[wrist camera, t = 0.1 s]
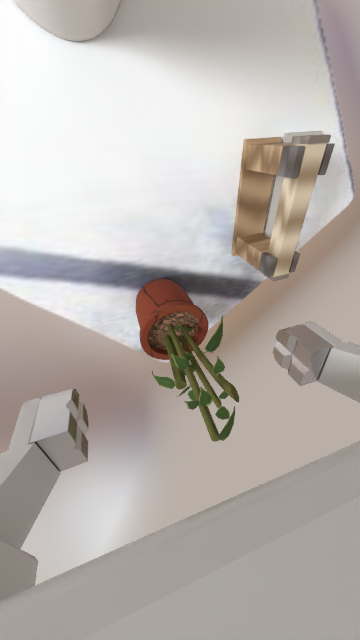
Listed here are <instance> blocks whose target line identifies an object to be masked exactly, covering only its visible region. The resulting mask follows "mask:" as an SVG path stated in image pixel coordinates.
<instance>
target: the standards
mask: <svg viewBox="0 0 360 640" xmlns="http://www.w3.org/2000/svg"><path fill="white" fill-rule="evenodd" d="M334 145H335V144H327V145H326V148H325V151H324V155H323V158H322V162H321V165H320V168H319V172H318V175H324V174H325V173H326V170H327V167H328V164H329V160H330V157H331V154H332V151H333V148H334ZM304 147H305V146H291V143H285V142H281V137H273V138H258V139H244V145H243V154H242V163H241V172H240V181H239V191H238V200H237V209H236V218H235V227H234V236H233V245H232V254H231V255H233V256H235V255H239V256H240V257H242V258H243V259H244V260H246V261H247V262H248V263H250V264H251V265H252V266H253V267H255V268H256V269H257V270H259V271H260V272H261V273H263V274H264V275H265V276H267V277H272V276H273V272H274V268H275V264H276V260H277V258H275V257H273V256H272V255H270V254H269V253H268V249H269V245H270V240H271V238H270V237H268V236H266V235H264V234H263V231H264V225H265V220H266V215H267V210H268V204H269V199H270V194H271V189H272V184H273V178H274V175H277V176H282V177H287V178H297V175H298V171H299V167H300V163H301V159H302V155H303V151H304ZM299 256H300V254H299V253H297V252H296V251H295V252H294V256H293V259H292V263H291V266H290V269H289V272H294V271H295V268H296V265H297V262H298V259H299Z"/></svg>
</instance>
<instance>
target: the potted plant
mask: <svg viewBox="0 0 360 640" xmlns="http://www.w3.org/2000/svg"><path fill="white" fill-rule="evenodd" d="M136 314H137V318H138V322H139V325H140V342H141V346H142V348H143V350H144V351H145V352H146V353H147V354H148V355H149V356H151V357H153V358H157V359H162V360H169V359H170V363H171V366H172V370H173V374H174V379H175V381H173V380H172V379H171V378H170V377H158V376H155V375H153V376H154V378H155V379H156V381H157V382H158V384H159V385H160V386H163V387H167V388H171V389H172V388H174V387H175V386H176V388H178V389H183V388H185V387H186V385H187V384H186V380H185V375H187V377H188V380H189V383H190V385H191V388H192V390H191V389H190V391H189V393H188V395H189V398H190V399H191V400H193V401H185V403H186V404H187V406H188V409H195V408H196V407H197V406H199V408H200V411H201V413H202V416H203V418H204V421H205V424H206V426H207V429H208V432H209V434H210V437H211V439H212V441H219V440H222V441H224V440H225V439H226V438H227V437H228V436H229V434H230V432H231V429H232V426H233V424H234V416H235V407H234V410H233V413H232V415H231V416H230V413H229V411H228V410H227V409H226V408H225V407H224V406H222V407H221V401H220V399H219V398H221V399H225V398H226V397H227V396H228V395H229V396H231V397H232V398H233V399H234V400H235V401H236V402H239V396H238V393H237V390H236V388H235V387H234V386H233V385H232V384H231V383H229V382H228V381H227V380H225V379H224V378H223V376H221V374H220V372H222V371H224V368H225V366H224V363H223V362H222V361H221V360H220V359H219V357H217V361H216V362H215V364H214V366H213V365H212V364H211V363H210V362H209V360H208V359H207V358H206V356H205V355H204V353H206V352H212V353H213V352H214V351H215V350H216V348H217V347H218V346H219V345H220V342H221V339H222V336H223V315H222V319H221V323H220V325H219V327H218V328H217V330H216V332H215V333H214V335H213V336H212V338H211V340H210V341H209V343H208V344H207V346H206V348H205V349H206V352H204V353H202V351H201V350H200V349H199V347H198V346H199V345H200V344H201V343H202V341H203V340H204V338H205V336H206V334H207V331H208V320H207V317H206V316H205V314H204V313H203V311H202V310H201V309H200V308H199V307H197V306H196V305H194V304H193V302H192V301H191V299H190V298H189V296H188V295H187V293H186V292H185V290H183V289H182V288H181V287H180V286H179V285H178V284H176V283H175V282H173V281H171V280H168V279H157V280H153V281H150V282H149V283H147V284H146V285H144V286H143V287H142V288H141V290H140V291H139V293H138V295H137V298H136ZM191 351H194V352H195V353H196V355H197V356H198V358H199V359H200V361H201V362H202V363H203V364H204V366H205V368H206V369H207V370H208V371H209V373H210V374H211V375H212V376H213V378H214V379H215V381H217V383H218V384H219V385H220V386H221V387H222V388H223V389H224V391H223V392H222V393H221V395H220V396H219V398H218V396H217V395H216V393H215V392H214V390H213V388H212V387H211V385H210V384H209V382H208V380H207V378H206V377H205V375H204V373H203V371H202V370H201V368H200V366H199V365H198V363H197V361H196V359H195V357H194V356H193V354H192V352H191ZM189 360H190V361H191V363H190V362H189ZM191 364H192V365H191ZM195 371H196V372H197V374H198V376H199V378H200V380H201V381H202V383H203V385H204V386H205V389H203V388H202V387H201V390H200V388H199V385H198V383H197V381H196V378H195V376H194V374H193V372H195ZM152 374H153V372H152ZM175 383H176V385H175ZM189 388H190V386H189V387H187V388H186V389H185V390H184V391H183V392H182V393H181V394H180V395H182V394H183V393H185V392H186V391H187V390H188V389H189ZM205 390H207V391H205ZM180 395H179V396H180ZM212 401H213V402H214V403H215V404H216V406H217V407H218V411H217V413H216V414H215V415H216V416H217V417H218V418H220V419H222V420H224V419H228V418H229V417H230V418H229V420H228V422H227V424H226V425H225V427H224V428H223V430H222V432H221V433H220V435H219V433H218V430H217V428H216V426H215V423H214V421H213V419H212V416H211V414H210V411H209V409H208V407H207V406H209V405H210V404H211V402H212ZM220 407H221V408H220ZM219 408H220V409H219Z"/></svg>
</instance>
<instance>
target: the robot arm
mask: <svg viewBox="0 0 360 640" xmlns="http://www.w3.org/2000/svg"><path fill="white" fill-rule="evenodd" d="M13 1H14V2H15V3H16V5H17V6H18V7H19V8H20V9H21V10H22V11H23V12H24V13H25V14H26V15H27V16H28V17H29V18H30V19H31V20H32V21H34V22H35V23H36V24H37V25H39V26H40V27H41V28H43V29H44V30H46V31H47V32H49V33H51V34H53V35H55V36H57V37H60V38H63V39H66V40H71V41H83V40H88V39H91V38H94V37H95V36H97V35H99V34H100V33H101V32H103V31H104V30H105V29H106V28H107V26H108V25H109V24H110V23H111V21H112V19H113V18H114V16H115V14H116V12H117V9H118V7H119V4H120V1H121V0H13ZM276 339H277V340H278V342H277V343H276V344H275V346H274V350H273V354H274V357H275V360H276V361H277V363H278V364H279V365H280V366H281V367H283V368H286V369H288V373H289V375H290V376H291V377H292V378H293V379H294V380H295V381H296V382H297V383H298V384H299V385H300V386H302V385H305V384H309V383H312V382H315V381H318V382H320V383H322V384H324V385H326V386H328V387H330V388H332V389H334V390H335V391H337V392H339V393H341V394H343V395H345V396H348V397H349V398H351V399H353V400H356V401H357V402H360V345H357V344H354V343H350V342H347V343H345V342H343V341H342V340H340V339H339V338H337V337H336V336H334V335H333V334H331V333H330V332H328V331H327V330H325V329H324V328H322V327H321V326H319V325H318V324H316V323H315V322H311V321H310V322H306V323H303V324H300V325H296V326H293V327H289V328H286V329H282V330H279V331H278V333H277V335H276ZM87 431H88V415H87V411H86V408H85V406H84V404H83V403H82V402H79V394H78V392H77V391H76V389H71V390H67V391H63V392H59V393H55V394H52V395H47V396H44V397H41V398H37V399H33V400H29V401H26V402H25V403H24V404H23V406H22V408H21V411H20V414H19V418H18V421H17V424H16V427H15V430H14V434H13V437H12V440H11V443H10V446H9V450H8V451H6V452H3V453H2V454H1V455H0V640H360V441H358V442H356V443H354V444H351V445H349V446H347V447H345V448H342V449H340V450H338V451H336V452H333V453H331V454H329V455H327V456H324V457H322V458H320V459H318V460H316V461H313V462H311V463H309V464H306V465H304V466H302V467H300V468H298V469H295V470H293V471H291V472H289V473H287V474H284V475H282V476H280V477H277V478H275V479H273V480H271V481H268V482H266V483H264V484H262V485H259V486H257V487H255V488H253V489H251V490H248V491H246V492H244V493H241V494H239V495H237V496H235V497H233V498H230V499H228V500H226V501H224V502H221V503H219V504H217V505H215V506H212V507H210V508H208V509H206V510H203V511H201V512H199V513H197V514H195V515H192V516H190V517H188V518H185V519H183V520H181V521H179V522H176V523H174V524H172V525H170V526H168V527H165V528H163V529H161V530H159V531H156V532H154V533H152V534H149V535H147V536H145V537H143V538H141V539H138V540H136V541H134V542H132V543H129V544H127V545H125V546H123V547H120V548H118V549H116V550H114V551H111V552H109V553H107V554H105V555H102V556H100V557H98V558H96V559H94V560H91V561H89V562H87V563H84V564H82V565H80V566H78V567H76V568H73V569H71V570H69V571H67V572H64V573H62V574H60V575H58V576H55V577H53V578H51V579H49V580H46V581H44V582H42V583H40V584H37V585H35V580H36V571H37V565H38V561H37V559H36V558H35V557H34V556H32V555H30V554H28V553H27V552H25V551H23V550H21V549H20V548H21V546H22V545H23V543H24V541H25V539H26V537H27V535H28V533H29V532H30V530H31V528H32V526H33V524H34V522H35V520H36V518H37V517H38V514H39V513H40V511H41V509H42V507H43V505H44V503H45V502H46V499H47V498H48V496H49V494H50V492H51V490H52V488H53V486H54V485H55V483H56V481H57V479H58V477H59V475H60V472H61V471H63V470H66V469H68V468H71V467H74V466H76V465H79V464H82V463H84V462H87V461H88V441H87V439H86V437H85V434H86V432H87Z"/></svg>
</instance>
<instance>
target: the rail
mask: <svg viewBox="0 0 360 640" xmlns="http://www.w3.org/2000/svg"><path fill="white" fill-rule="evenodd" d="M330 137H331V135H306V136H292V141H291V146H305V147H304V151H303V155H302V159H301V163H300V167H299V171H298V175H297V178H287V177H284V180H283V185H282V190H281V194H280V199H279V203H278V208H277V213H276V217H275V222H274V226H273V231H272V236H271V240H270V245H269V249H268V253H269V254H270V255H272V256H273V257H275V258H277V260H276V264H275V268H274V272H273V276H272V277H268V278H270V279H271V280H272V281H277V280H281V279H285V278H288V277H289V274H288V273H289V269H290V266H291V263H292V259H293V256H294V252H295V249H296V246H297V242H298V239H299V236H300V232H301V229H302V225H303V222H304V219H305V215H306V212H307V209H308V205H309V202H310V199H311V195H312V192H313V188H314V185H315V182H316V178H317V175H318V172H319V168H320V165H321V162H322V158H323V155H324V151H325V148H326V145H327V143H328V142H329V141H330Z"/></svg>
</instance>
